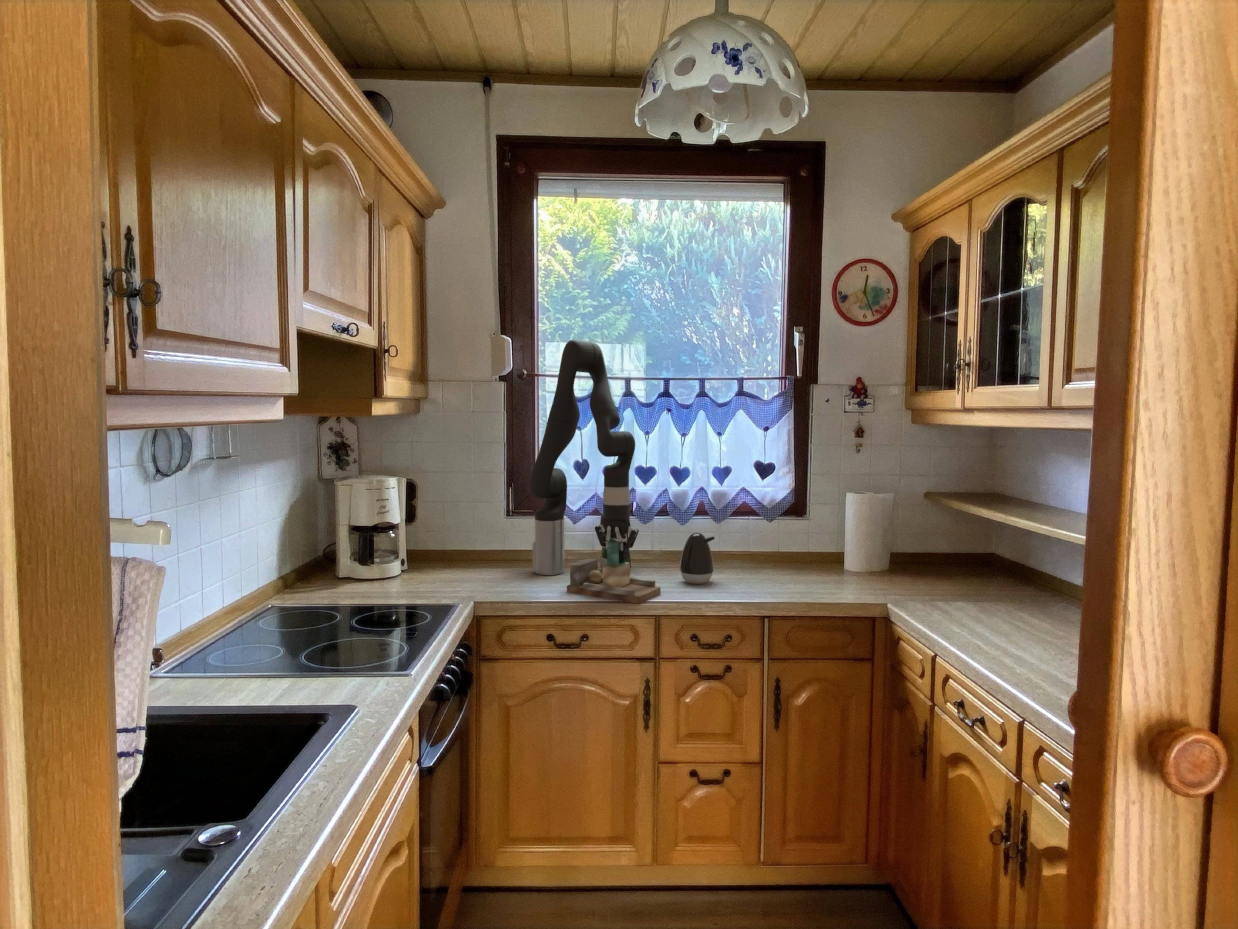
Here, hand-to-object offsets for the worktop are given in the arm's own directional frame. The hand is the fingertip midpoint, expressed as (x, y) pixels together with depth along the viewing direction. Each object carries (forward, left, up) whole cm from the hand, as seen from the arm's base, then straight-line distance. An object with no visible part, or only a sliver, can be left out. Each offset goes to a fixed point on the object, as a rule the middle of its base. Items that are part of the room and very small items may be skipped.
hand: (616, 562), depth 219 cm
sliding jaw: (0, 0, -7) cm, 7 cm away
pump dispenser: (+14, +24, -9) cm, 29 cm away
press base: (-1, 0, -9) cm, 9 cm away
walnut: (-7, 0, -7) cm, 10 cm away
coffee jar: (-16, +26, -9) cm, 32 cm away
